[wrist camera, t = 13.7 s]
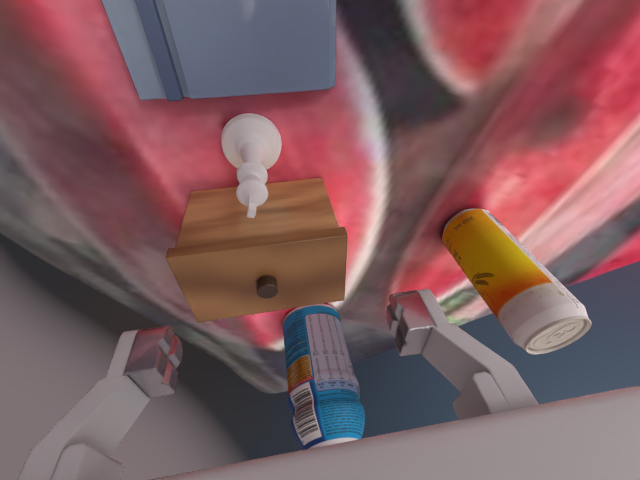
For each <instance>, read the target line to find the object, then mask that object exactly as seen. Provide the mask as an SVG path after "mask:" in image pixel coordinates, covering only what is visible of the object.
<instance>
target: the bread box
mask: <svg viewBox="0 0 640 480" xmlns="http://www.w3.org/2000/svg"><path fill="white" fill-rule="evenodd" d="M265 186H266V187H267V190H268V198H267V200H266V201H265V203H263V204H262V205H260V206H258V207H256V216H255V217H254V218H249V217H247V212H248V206H245V205H243V204H242V203H241V202H240V201H239V200H238V198H237V196H236V190H237V187H238V186H236V187H227V188H217V189H208V190H198V191H191V193H190V197H189V200H188V204H187V208H186V211H185V215H184V218H183V222H182V226H181V229H180V233H179V236H178V240H177V244H176V247H175V248H170V249H168V252H167V255H166V260H167V262H168V264H169V266H170V268H171V270H172V272H173V274H174V276H175V278H176V280H177V282H178V284H179V286H180V288H181V290H182V292H183V294H184V296H185V298H186V300H187V302H188V304H189V306H190V308H191V310H192V312H193V314H194V316H195V318H196V320H197V322H204V321H211V320H217V319H224V318H231V317H237V316H244V315H250V314H257V313H263V312H270V311H277V310H283V309H290V308H296V307H303V306H309V305H316V304H322V303H329V302H336V301H342V300H344V296H345V277H346V258H347V238H348V235H347V232H346V229H345V227H339V225H338V222H337V219H336V216H335V213H334V210H333V207H332V205H331V202H330V199H329V196H328V193H327V190H326V187H325V185H324V182H323V179H322V178H313V179H303V180H294V181H284V182H274V183H265Z"/></svg>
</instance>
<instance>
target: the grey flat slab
mask: <svg viewBox="0 0 640 480" xmlns="http://www.w3.org/2000/svg"><path fill="white" fill-rule="evenodd" d="M101 1H102V3H103V6H104V9H105V11H106V14H107V16H108V19H109V21H110V24H111V27H112V29H113V32H114V34H115V37H116V39H117V42H118V45H119V47H120V50H121V52H122V55H123V57H124V60H125V62H126V65H127V68H128V70H129V73H130V75H131V78H132V80H133V83H134V86H135V88H136V91H137V93H138V96H139V98H140V100H153V99H168V101H180V100H183V98H184V97H190V99H201V98H215V97H229V96H243V95H257V94H271V93H285V92H299V91H313V90H327V89H330V87H335V60H336V0H101Z"/></svg>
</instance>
